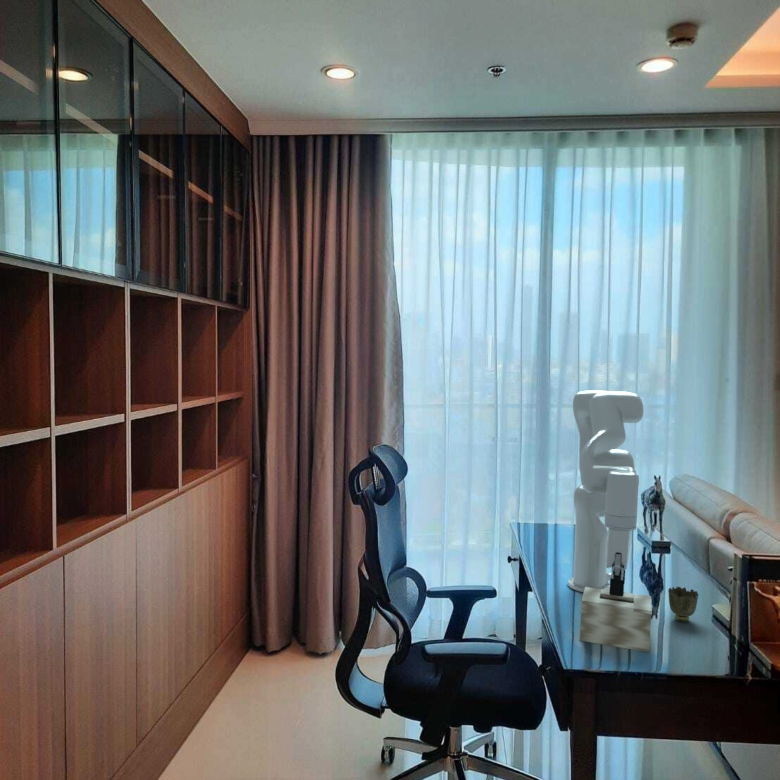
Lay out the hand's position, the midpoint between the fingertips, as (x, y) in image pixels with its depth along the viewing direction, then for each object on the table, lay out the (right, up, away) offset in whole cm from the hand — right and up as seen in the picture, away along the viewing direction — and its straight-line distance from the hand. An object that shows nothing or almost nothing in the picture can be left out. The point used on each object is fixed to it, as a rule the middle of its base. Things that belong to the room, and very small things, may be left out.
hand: (617, 589), depth 168 cm
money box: (0, -12, +1) cm, 12 cm away
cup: (+22, -13, +14) cm, 29 cm away
